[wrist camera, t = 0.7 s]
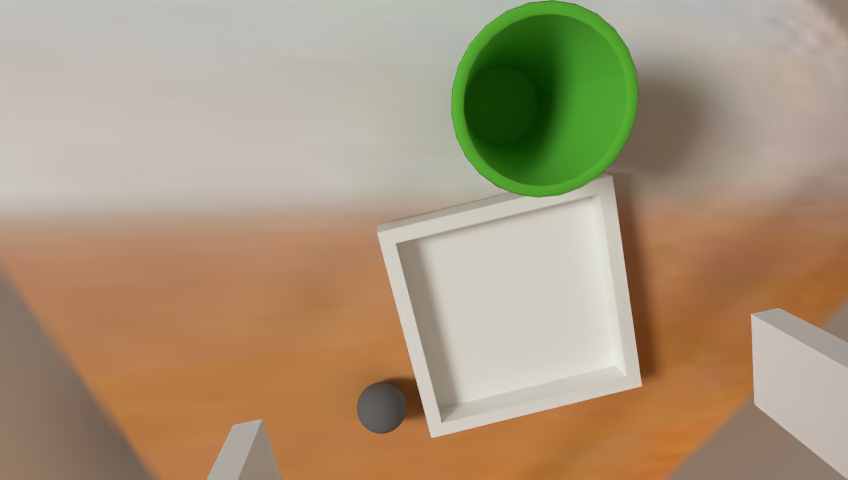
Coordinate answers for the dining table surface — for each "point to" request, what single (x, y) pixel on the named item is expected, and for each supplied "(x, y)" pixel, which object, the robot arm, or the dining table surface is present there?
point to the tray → (513, 304)
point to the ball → (381, 407)
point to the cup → (544, 98)
